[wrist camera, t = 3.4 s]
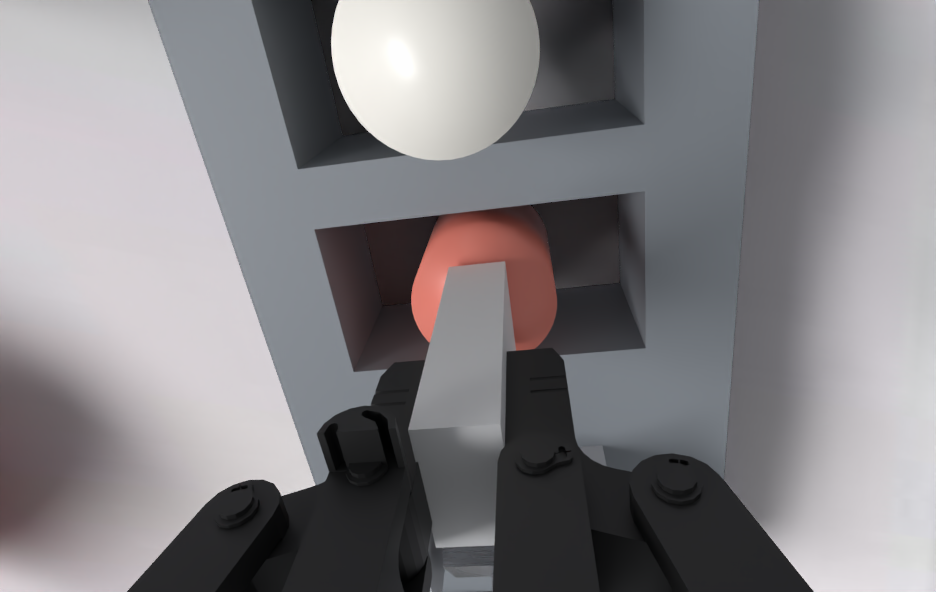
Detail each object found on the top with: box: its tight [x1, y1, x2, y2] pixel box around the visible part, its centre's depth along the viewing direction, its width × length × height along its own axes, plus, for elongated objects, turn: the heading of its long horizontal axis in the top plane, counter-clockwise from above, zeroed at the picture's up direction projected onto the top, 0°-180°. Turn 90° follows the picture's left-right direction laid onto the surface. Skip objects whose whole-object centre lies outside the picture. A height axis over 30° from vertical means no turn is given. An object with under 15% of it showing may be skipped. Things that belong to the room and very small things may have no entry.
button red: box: [411, 205, 557, 351], centre depth 17 cm, size 4×4×4 cm
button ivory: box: [331, 0, 540, 160], centre depth 13 cm, size 4×4×4 cm
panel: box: [148, 0, 759, 592], centre depth 18 cm, size 26×14×8 cm, turn 8°
